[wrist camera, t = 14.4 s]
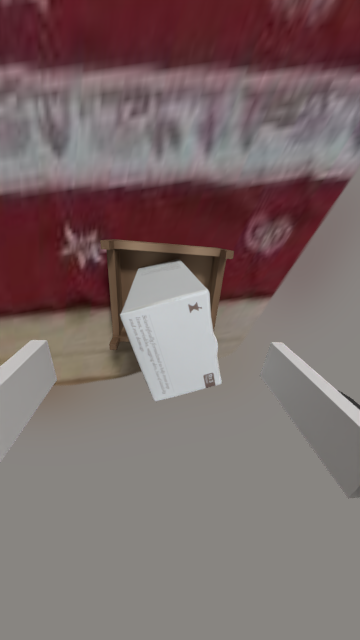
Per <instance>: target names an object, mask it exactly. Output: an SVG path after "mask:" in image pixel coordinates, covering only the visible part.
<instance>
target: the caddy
mask: <svg viewBox="0 0 360 640" xmlns="http://www.w3.org/2000/svg"><path fill="white" fill-rule="evenodd" d="M100 242H101V249H107V261H108V274H109V287H110V301H111V314H112V327H113V338H112V340H111V342H110V344H109V345H110V350H117V347H118V345H119V342H130V341H129V338H128V335H127V333H126V330H125V327H124V325H123V322H122V320H121V317H120V314H121V312H122V310H123V307H124V305H125V302H126V300H127V297H128V294H129V291H130V289H131V286H132V283H133V281H134V278H135V276H136V273H137V270H138V269H139V268H143V267H147V266H151V265H156V264H160V263H164V262H168V261H172V260H177V259H180V260H181V261H182V262H183V263H184V265H185V266H186V267H187V268H188V269H189V270H190V271H191V272H192V273H193V274H194V275H195V277H196V278H197V279H198V280H199V281H200V282H201V283H202V284H203V285H204V286H205V287H206V288H207V289H208V291H209V294H210V309H211V319H212V325H213V332H214V327H215V321H216V315H217V309H218V304H219V298H220V292H221V286H222V280H223V274H224V269H225V263H226V259H233V253H234V251H231V250H226V249H221V248H212V247H200V246H188V245H176V244H163V243H151V242H139V241H127V240H115V239H114V240H100Z"/></svg>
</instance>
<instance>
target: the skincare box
mask: <svg viewBox="0 0 360 640" xmlns="http://www.w3.org/2000/svg"><path fill="white" fill-rule="evenodd" d="M120 317H121V320H122V322H123V325H124V327H125V330H126V333H127V335H128V338H129V341H130V343H131V346H132V348H133V351H134V353H135V356H136V358H137V361H138V363H139V366H140V368H141V371H142V373H143V375H144V378H145V380H146V383H147V385H148V388H149V390H150V392H151V395H152V397H153V399H154V401H159V400H164V399H167V398H171V397H175V396H179V395H182V394H186V393H190V392H193V391H196V390H201V389H205V388H208V387H211V386H215V385H219V384H221V383H222V381H221V376H220V370H219V365H218V358H217V351H218V343H217V339H216V337H215V336H214V332H213V325H212V319H211V309H210V294H209V291H208V289H207V288H206V287H205V286H204V285H203V284H202V283H201V282H200V281H199V280H198V279H197V278H196V277H195V275H194V274H193V273H192V272H191V271H190V270H189V269H188V268H187V267H186V266H185V265H184V263H183V262H182V261H181V260H180V259H177V260H172V261H168V262H164V263H160V264H156V265H151V266H147V267H143V268H139V269H138V270H137V273H136V276H135V278H134V281H133V283H132V286H131V289H130V291H129V294H128V297H127V300H126V302H125V305H124V307H123V310H122V312H121V314H120Z"/></svg>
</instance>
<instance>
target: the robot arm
mask: <svg viewBox="0 0 360 640" xmlns="http://www.w3.org/2000/svg"><path fill="white" fill-rule="evenodd" d="M260 377H261V378H262V380H263V381H264V383H265V384H266V385H267V387H268V388H269V389H270V390H271V392H272V394H273V395H274V396H275V398H276V399H277V401H278V402H279V403H280V405H281V406H282V407H283V409H284V410H285V412H286V413H287V414H288V415H289V417H290V419H291V420H292V421H293V422H294V424H295V425H296V427H297V428H298V429H299V431H300V432H301V434H302V435H303V436H304V438H305V439H306V441H307V442H308V443H309V445H310V446H311V448H312V449H313V450H314V452H315V453H316V454H317V456H318V457H319V459H320V460H321V461H322V463H323V464H324V466H325V467H326V468H327V470H328V471H329V472H330V474H331V475H332V477H333V478H334V479H335V481H336V482H337V484H338V485H339V486H340V488H341V489H342V490H343V492H344V493H345V495H346V496H347V497H348V498H357V497H360V405H359V404H357V403H356V402H355V401H354V400H353V399H351V398H350V397H348V396H346V395H345V394H343V393H342V392H340V391H338V390H336V389H335V388H334V387H333V386H332V385H330V384H329V383H328V382H327V381H326V380H325V379H324V378H322V377H321V376H320V375H319V374H318V373H317V372H315V371H314V370H313V369H312V368H311V367H310V366H309V365H307V364H306V363H305V362H304V361H303V360H302V359H300V358H299V357H298V356H297V355H296V354H295V353H294V352H292V351H291V350H290V349H289V348H288V347H287V346H286V345H284V344H283V343H281V342H271V344H270V347H269V350H268V353H267V356H266V359H265V362H264V365H263V368H262V371H261V374H260ZM56 380H57V378H56V374H55V370H54V366H53V362H52V358H51V354H50V350H49V346H48V342H47V340H31V341H30V342H29V343H27V344H26V345H25V346H24V347H23V348H21V349H20V350H19V351H18V352H17V353H16V354H14V355H13V356H12V357H11V358H10V359H9V360H7V361H6V362H5V363H4V364H3V365H1V366H0V462H1V461H2V459H3V458H4V456H5V455H6V453H7V452H8V451H9V449H10V448H11V446H12V445H13V443H14V442H15V440H16V439H17V437H18V436H19V434H20V433H21V432H22V430H23V429H24V427H25V426H26V424H27V423H28V421H29V420H30V418H31V417H32V415H33V414H34V412H35V411H36V410H37V408H38V406H39V405H40V404H41V402H42V401H43V399H44V398H45V396H46V395H47V393H48V392H49V390H50V389H51V388H52V386H53V385H54V383H55V382H56Z"/></svg>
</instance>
